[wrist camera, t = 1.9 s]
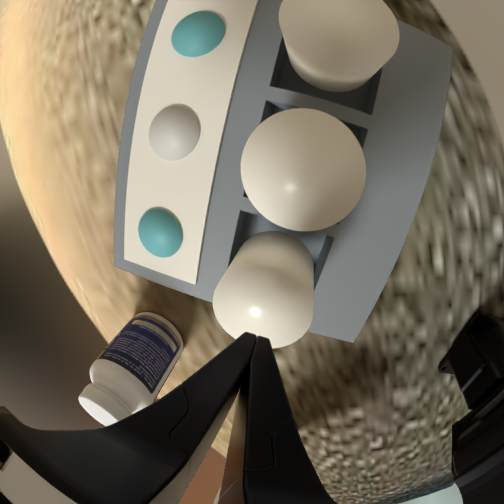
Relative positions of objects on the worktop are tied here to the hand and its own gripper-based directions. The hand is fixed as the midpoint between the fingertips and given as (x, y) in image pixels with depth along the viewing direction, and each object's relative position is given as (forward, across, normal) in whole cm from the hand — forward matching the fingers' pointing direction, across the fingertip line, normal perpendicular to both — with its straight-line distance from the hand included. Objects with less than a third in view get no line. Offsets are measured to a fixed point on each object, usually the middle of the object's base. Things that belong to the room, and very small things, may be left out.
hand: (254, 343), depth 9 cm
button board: (+9, +2, -6) cm, 11 cm away
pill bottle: (+9, +8, +12) cm, 17 cm away
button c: (+6, 0, 0) cm, 6 cm away
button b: (+6, 0, -5) cm, 8 cm away
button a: (+6, 0, -11) cm, 12 cm away
